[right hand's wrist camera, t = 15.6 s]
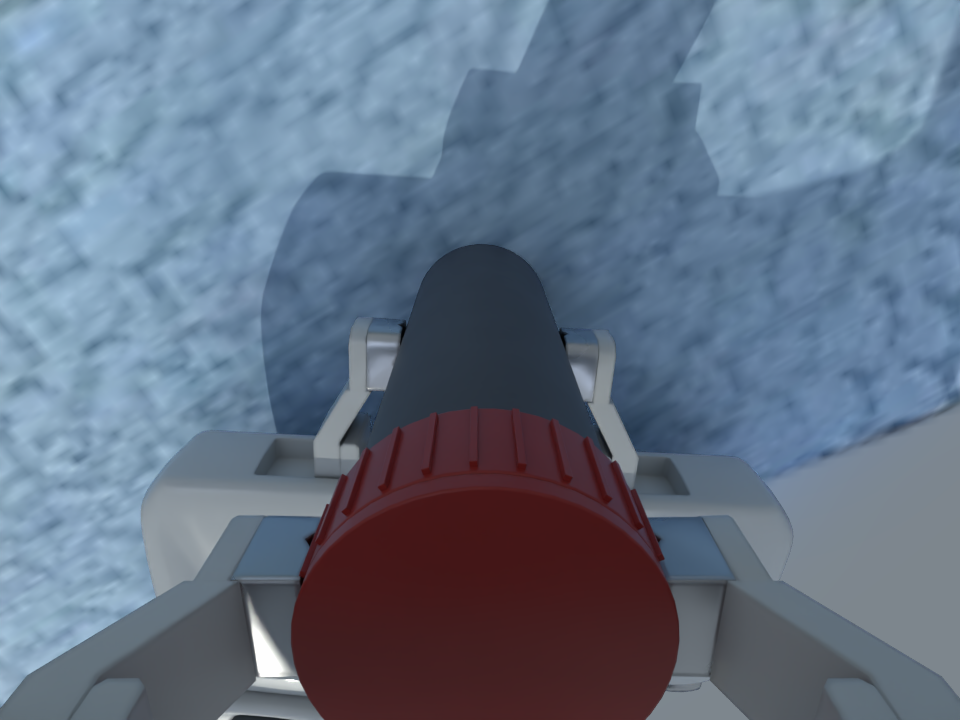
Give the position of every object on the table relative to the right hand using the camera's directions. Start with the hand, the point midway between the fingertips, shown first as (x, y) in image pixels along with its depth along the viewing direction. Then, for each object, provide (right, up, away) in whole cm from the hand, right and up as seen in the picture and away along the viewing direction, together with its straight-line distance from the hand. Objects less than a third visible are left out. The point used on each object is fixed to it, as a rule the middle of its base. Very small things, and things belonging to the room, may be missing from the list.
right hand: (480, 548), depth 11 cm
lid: (0, -1, -2) cm, 2 cm away
